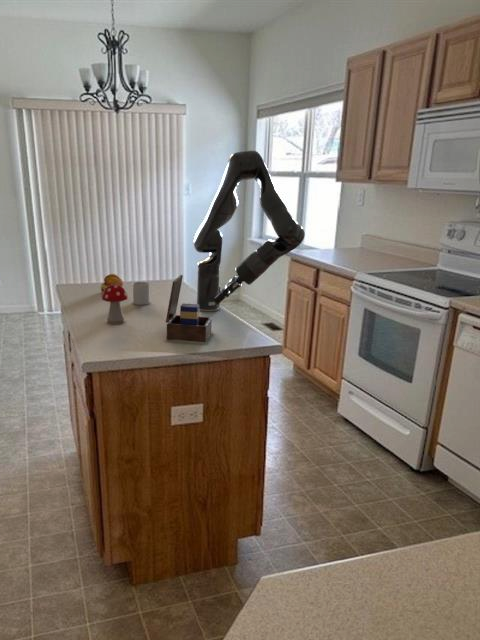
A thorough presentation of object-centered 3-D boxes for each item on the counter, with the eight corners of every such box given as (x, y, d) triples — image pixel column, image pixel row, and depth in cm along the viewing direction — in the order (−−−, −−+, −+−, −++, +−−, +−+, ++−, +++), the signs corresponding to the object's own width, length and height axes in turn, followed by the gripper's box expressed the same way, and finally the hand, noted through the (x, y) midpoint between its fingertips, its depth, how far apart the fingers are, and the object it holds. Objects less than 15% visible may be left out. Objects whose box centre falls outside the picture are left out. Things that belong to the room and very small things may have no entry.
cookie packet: (199, 334, 193) (199, 304, 189) (196, 337, 189) (197, 307, 184) (182, 333, 194) (182, 303, 190) (179, 336, 190) (180, 306, 185)
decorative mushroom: (106, 326, 203) (104, 287, 197) (100, 320, 210) (98, 283, 205) (131, 324, 207) (130, 285, 201) (124, 318, 214) (123, 281, 208)
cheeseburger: (110, 289, 264) (113, 270, 259) (125, 297, 260) (129, 278, 255) (95, 292, 256) (98, 272, 252) (111, 300, 252) (114, 280, 247)
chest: (211, 334, 196) (211, 317, 194) (205, 344, 185) (205, 326, 182) (174, 331, 199) (174, 314, 196) (166, 341, 187) (166, 323, 184)
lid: (183, 275, 190) (180, 274, 190) (175, 281, 178) (172, 281, 178) (175, 313, 196) (173, 313, 196) (167, 322, 184) (165, 322, 184)
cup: (135, 305, 234) (134, 285, 231) (130, 300, 243) (130, 280, 240) (151, 304, 236) (150, 284, 233) (146, 299, 245) (146, 280, 242)
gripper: (247, 255, 184) (213, 287, 190) (243, 262, 171) (206, 295, 177) (261, 272, 185) (227, 302, 191) (258, 279, 172) (222, 312, 178)
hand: (217, 299), depth 184 cm, fingers open, 8 cm apart
